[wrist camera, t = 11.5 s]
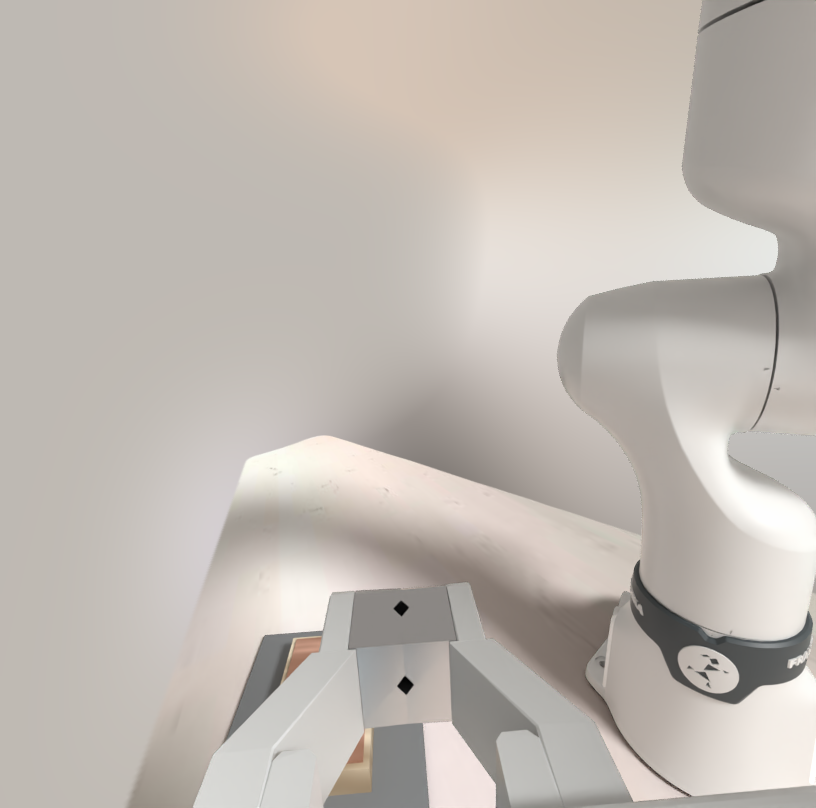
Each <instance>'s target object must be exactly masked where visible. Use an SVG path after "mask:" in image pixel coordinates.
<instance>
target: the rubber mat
mask: <svg viewBox="0 0 816 808" xmlns="http://www.w3.org/2000/svg"><path fill="white" fill-rule="evenodd" d="M322 633H323V631H314V632H301V633H288V634H275V635H265V636H264V639H263V641H262V644H261V647H260V650H259V652H258V655H257V658H256V660H255V663H254V666H253V669H252V671H251V674H250V677H249V679H248V682H247V685H246V688H245V690H244V693H243V696H242V698H241V701H240V704H239V707H238V709H237V712H236V715H235V717H234V720H233V723H232V725H231V728H230V731H229V734H228V736H227V739H226V741H227V740H228V739H229V738H230V737H231V735H232V734H233V733H234V732H235V731H236V730H237V729H238V728H239V727H240V726H241V725H242V724H243V723H244V722H245V721H246V720H247V719H248V718H249V717H250V716H251V715H252V714H253V713H254V712H255V711H256V710H257V709H258V708H259V707H260V706H261V705H262V704H263V702H264V701H265V700H266V699H267V698H268V697H269V696H270V695H271V694H272V693H273V692H274V691H275V690H276V689H277V688H278V687H279V686H280V684H281V680H282V677H283V673H284V670H285V666H286V663H287V659H288V656H289V652H290V648H291V645H292V641H293V638H300V637H313V636H322ZM323 807H324V808H429V799H428V786H427V773H426V760H425V748H424V735H423V723H411V724H401V725H392V726H384V727H376V728H374V736H373V764H372V792H368V793H356V794H345V795H334V796H328V797H327V799H326V801H325V803H324V804H323Z"/></svg>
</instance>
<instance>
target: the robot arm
mask: <svg viewBox="0 0 816 808" xmlns="http://www.w3.org/2000/svg"><path fill="white" fill-rule="evenodd" d="M698 34H699V35H698V37H697V46H696V55H695V63H694V72H693V80H692V88H691V96H690V105H689V112H688V120H687V121H688V122H687V129H686V137H685V145H684V153H683V162H682V171H683V176H684V180H685V183H686V185H687V188H688V190H689V191H690V193H691V194H692V196H693V197H694V198H695V199H696V200H697V201H698V202H700V203H701V204H702V205H704V206H705V207H707V208H709V209H711V210H713V211H715V212H717V213H720V214H722V215H724V216H727V217H729V218H731V219H735V220H737V221H740V222H743V223H745V224H748V225H752V226H755V227H758V228H761V229H764V230H767V231H769V232H771V233H773V234H775V235H776V237H777V241H778V258H777V262H776V266H775V268H774V270H773V271H771V272H769V273H764V274H760V275H756V276H738V277H721V278H703V279H685V280H668V281H653V282H647V283H643V284H638V285H633V286H628V287H624V288H619V289H615V290H611V291H607V292H603V293H599V294H596V295H592V296H589V297H587V298H586V299H585V300H584V301H583V302H582V303H581V304H580V305H579V306H578V307H577V308H576V309H575V311H574V312H573V313H572V315H571V316H570V317H569V319H568V321H567V323H566V325H565V327H564V329H563V331H562V334H561V337H560V340H559V346H558V351H557V362H558V370H559V374H560V378H561V381H562V384H563V386H564V388H565V390H566V392H567V393H568V395H569V396H570V398H571V399H572V400H573V401H574V403H575V404H576V405H577V406H578V407H579V408H580V409H581V410H582V411H584V412H585V413H586V414H588V415H589V416H591V417H592V418H593V419H595V420H596V421H597V422H598V423H599V424H600V425H602V426H603V427H604V428H605V429H606V430H607V431H608V432H609V433H610V434H611V436H612V437H613V438H614V439H615V440H616V442H617V443H618V444H619V446H620V447H621V448H622V450H623V451H624V453H625V455H626V456H627V458H628V460H629V461H630V463H631V465H632V467H633V470H634V472H635V475H636V477H637V481H638V485H639V489H640V495H641V505H642V538H641V555H640V560H639V561H638V562H637V563H636V565H635V567H634V573H633V575H632V576H633V578H631V585H630V593H629V592H627V591H626V592H625V591H624V592H623V593H622V595H621V598H620V601H619V606H616V607H615V609H614V611H613V616H612V618H611V622H610V629H609V636H608V638H607V639H606V640H605V642H604V643H603V644H602V646H601V647H600V648H599V649H598V651H597V652H596V653H595V655H594V656H593V657H592V658H591V660H590V661H589V662H588V664H587V668H586V672H585V675H586V678H587V680H588V681H589V683H590V684H591V685H592V686H593V688H594V689H595V690H596V691H597V692H598V693H599V694H600V695H601V696H602V697H603V698H604V700H605V701H606V703H607V705H608V707H609V709H610V711H611V714H612V716H613V718H614V721H615V723H616V725H617V726H618V728H619V730H620V732H621V733H622V735H623V736H624V738H625V739H626V741H627V742H628V743H629V745H630V746H631V747H632V748H633V749H634V751H635V752H636V753H637V754H638V755H639V756H640V757H641V758H642V759H643V760H644V761H645V762H646V763H647V764H648V765H649V766H650V767H651V768H652V769H653V770H655V771H656V772H657V773H658V774H659V775H661V776H662V777H663V778H665V779H666V780H667V781H669V782H670V783H672V784H673V785H675V786H676V787H678V788H679V789H681V790H683V791H684V792H686V793H688V794H690V795H692V797H681V798H670V799H659V800H648V801H638V802H633V800H632V798H631V796H630V794H629V792H628V790H627V787H626V785H625V783H624V781H623V779H622V777H621V775H620V773H619V771H618V769H617V767H616V765H615V763H614V761H613V759H612V757H611V755H610V752H609V750H608V748H607V746H606V744H605V742H604V740H603V738H602V736H601V734H600V732H599V730H598V728H597V726H596V724H595V722H594V721H593V720H592V719H590V718H589V717H588V716H587V715H585V714H584V713H583V712H582V711H581V710H579V709H578V708H577V707H576V706H575V705H573V704H572V703H571V702H570V701H568V700H567V699H566V698H565V697H564V696H562V695H561V694H560V693H559V692H558V691H556V690H555V689H554V688H553V687H551V686H550V685H549V684H548V683H547V682H545V681H544V680H543V679H542V678H541V677H539V676H538V675H537V674H536V673H534V672H533V671H532V670H531V669H530V668H528V667H527V666H526V665H525V664H524V663H522V662H521V661H520V660H519V659H517V658H516V657H515V656H514V655H513V654H511V653H510V652H509V651H508V650H507V649H505V648H504V647H503V646H502V645H500V644H499V643H498V642H497V641H496V640H494V639H493V638H491V639H486V638H485V634H484V631H483V627H482V624H481V620H480V617H479V613H478V610H477V606H476V603H475V599H474V596H473V593H472V589H471V586H470V584H469V583H468V582H462V583H452V584H446V585H440V586H428V587H415V588H403V589H401V588H398V589H379V590H361V591H356V592H355V591H347V592H333V593H332V594H331V596H330V598H329V603H328V608H327V613H326V618H325V623H324V628H323V633H322V638H321V643H320V648H319V652H317V653H311V654H310V655H309V656H308V657H307V658H306V659H305V660H304V661H303V662H302V663H301V664H300V665H299V666H298V667H297V668H296V669H295V671H294V672H293V673H292V674H291V675H290V676H289V677H288V678H287V679H286V680H285V681H284V682H283V683H282V684H281V685H280V686H279V687H278V688H277V689H276V690H275V691H274V692H273V693H272V694H271V695H270V696H269V697H268V698H267V699H266V700H265V701H264V702H263V704H262V705H261V706H260V707H259V708H258V709H257V710H256V711H255V712H254V713H253V714H252V715H251V716H250V717H249V718H248V719H247V720H246V721H245V722H244V723H243V724H242V725H241V726H240V727H239V728H238V729H237V730H236V731H235V732H234V733H233V734H232V735H231V737H230V738H229V739H228V740H227V741H226V742H225V743H224V744H223V745H222V746H221V747H220V748H219V749H218V750H217V751H216V752H215V753H214V754H213V756H212V759H211V761H210V764H209V767H208V769H207V772H206V774H205V777H204V779H203V782H202V784H201V787H200V790H199V792H198V795H197V797H196V800H195V802H194V805H193V808H324V807H323V804H324V803H325V801H326V799H327V797H328V795H329V794H330V792H331V790H332V788H333V787H334V785H335V783H336V781H337V779H338V778H339V776H340V774H341V772H342V771H343V769H344V767H345V765H346V763H347V762H348V760H349V758H350V756H351V755H352V753H353V751H354V749H355V748H356V746H357V744H358V742H359V740H360V739H361V737H362V735H363V733H364V729H367V728H376V727H384V726H392V725H401V724H411V723H430V722H448V721H452V724H453V725H454V727H455V728H456V729H457V731H458V732H459V734H460V735H461V736H462V738H463V739H464V740H465V742H466V743H467V745H468V746H469V747H470V749H471V750H472V752H473V753H474V754H475V756H476V757H477V759H478V760H479V761H480V763H481V764H482V765H483V767H484V768H485V770H486V771H487V772H488V774H489V775H490V777H491V778H492V779H493V781H494V782H495V783H496V808H816V679H815V677H814V676H813V674H812V673H811V671H810V670H809V668H808V667H807V665H806V661H807V658H808V656H809V653H810V651H811V647H812V641H813V639H812V638H813V635H811V634H812V626H813V622H812V618H811V616H810V613H809V611H808V608H809V603H810V599H811V594H812V590H813V585H814V581H815V576H816V516H815V514H814V512H813V511H812V510H811V508H810V507H809V506H808V504H807V503H806V502H805V501H804V500H803V499H802V498H801V497H799V496H798V495H797V494H796V493H795V492H793V491H792V490H790V489H789V488H787V487H786V486H784V485H783V484H781V483H779V482H778V481H776V480H774V479H773V478H771V477H769V476H767V475H765V474H763V473H761V472H759V471H757V470H755V469H753V468H751V467H749V466H747V465H745V464H743V463H741V462H739V461H737V460H735V459H734V458H732V457H731V456H730V455H728V444H729V439H730V436H731V435H733V434H735V433H745V432H747V431H748V432H763V433H776V434H790V435H805V436H816V0H703V1H702V8H701V15H700V22H699V29H698ZM602 666H603V667H602ZM604 667H605V668H604Z"/></svg>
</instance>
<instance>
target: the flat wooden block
mask: <svg viewBox="0 0 816 808" xmlns="http://www.w3.org/2000/svg"><path fill="white" fill-rule="evenodd" d="M321 638H322V636H313V637H300V638H293V641H292V645H291V648H290V652H289V656H288V659H287V663H286V666H285V670H284V673H283V677H282V680H281V684H282V683H283V682H284V681H285V680H286V679H287V678H288V677H289V676H290V675H291V674H292V673H293V672H294V671H295V669H296V668H297V667H298V666H299V665H300V664H301V663H302V662H303V661H304V660H305V659H306V658H307V657H308V656H309V655H310V654H311V653H317V652H319V648H320V643H321ZM281 684H280V685H281ZM373 736H374V728H367V729H364V733H363V735H362V737H361V739H360V740H359V742H358V744H357V746H356V748H355V749H354V751H353V753H352V755H351V756H350V758H349V760H348V762H347V763H346V765H345V767H344V769H343V771H342V772H341V774H340V776H339V778H338V779H337V781H336V783H335V785H334V787H333V788H332V790H331V792H330V794H329V795H328V796H334V795H345V794H356V793H368V792H372V764H373Z"/></svg>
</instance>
